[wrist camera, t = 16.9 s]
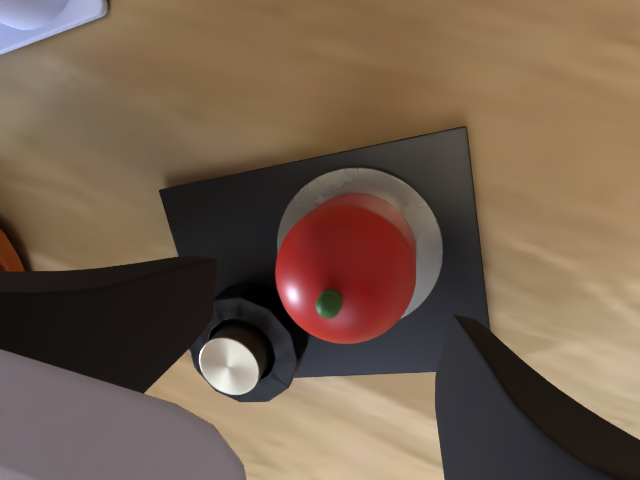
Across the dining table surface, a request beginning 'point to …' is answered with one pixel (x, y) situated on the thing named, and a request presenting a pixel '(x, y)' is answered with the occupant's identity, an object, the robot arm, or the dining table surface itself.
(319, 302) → the pepper
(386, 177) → the burner
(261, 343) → the hob button
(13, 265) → the cheeseburger
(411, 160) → the hob
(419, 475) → the dining table surface
